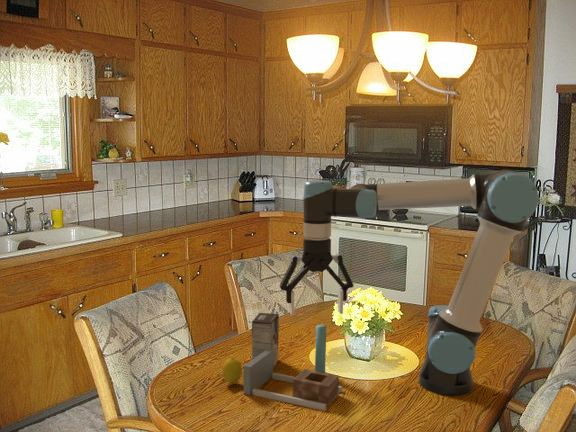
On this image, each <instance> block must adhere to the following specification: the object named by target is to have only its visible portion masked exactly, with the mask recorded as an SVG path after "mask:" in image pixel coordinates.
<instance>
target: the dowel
mask: <svg viewBox="0 0 576 432" xmlns="http://www.w3.org/2000/svg"><path fill="white" fill-rule="evenodd" d="M326 348H327V325H325V324H317V325H316V326H315V354H314V355H315V357H314V359H315V360H314V361H315V362H314V363H315V364H314V371H318V372H323V373H326V358H327V355H326V354H327V353H326V352H327V349H326Z"/></svg>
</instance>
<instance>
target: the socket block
mask: <svg viewBox="0 0 576 432" xmlns="http://www.w3.org/2000/svg"><path fill="white" fill-rule="evenodd" d="M294 377H295V378H294V379H293V383H292V397H296V398H301V399H305V400H310V401H315V402H319V403H324V404H326V408H327V407H329V406H330V405H331V404H332V402H333V401H334V400H335V399H336V398H337V397H338V395H339V392H338V386H339V382H340V381H339V380H340V379H339V377H340V375H337V374H332V373H327V372H325V373H323V372H318V371H315V370H312V369H306V368H304V369H303V370H302V371H301V372H300V373H298V374H297V375H296V376H294Z"/></svg>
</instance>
